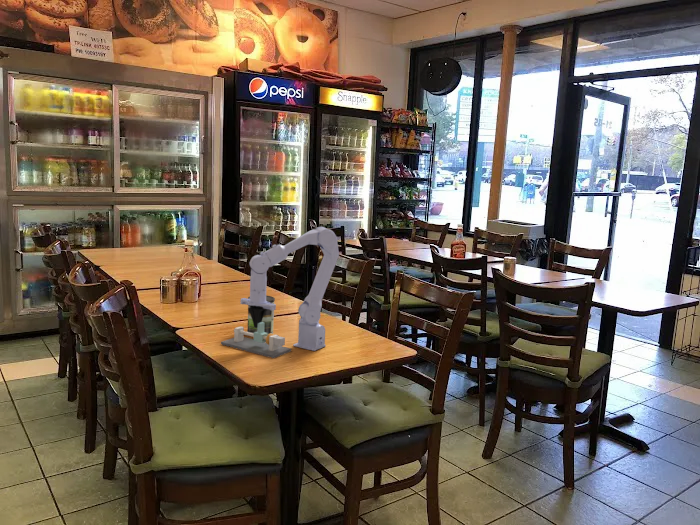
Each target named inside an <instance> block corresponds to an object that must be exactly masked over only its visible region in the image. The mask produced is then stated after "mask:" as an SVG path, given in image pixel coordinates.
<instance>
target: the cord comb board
mask: <svg viewBox="0 0 700 525" xmlns="http://www.w3.org/2000/svg"><path fill="white" fill-rule="evenodd" d="M244 329H245V328H244V326H241V325H240V326H237V327H234V329H233V333H234V334H233V335H234V336H233V337H232V338H230V339H225V340H222V341H220V345H221V344H222V346H225V345H226V347H229V346H230V348H232V347H233V348H232V349H236V348H237V349H236V350H240V349H241V351H244V350H245V351H244V352H248V353H252V354H255V355H260V356H263V357H266V358H270V357H271V359H276V358H278V357H280V355H281V356H282V355H286V354H288V353H290V352H292V348H290V347H286V346H285V343H286V337H285V336H284V337H283V336H279V335H278V334H274V333H273V334H271V333H269V334H268V335H267V336H264V338H263V339H264V340H266V342H264V343H260V342H256V341H253V339H254V333H250V332H247V331H245V330H244ZM244 335H245V336H248V337H245V336H244ZM251 337H253V338H251Z"/></svg>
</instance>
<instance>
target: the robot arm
mask: <svg viewBox="0 0 700 525" xmlns="http://www.w3.org/2000/svg"><path fill="white" fill-rule="evenodd" d="M338 239H339V238H338V237H337V234H335V232H334V231H333V230H332V229H329V228H326V227H325V226H318V227H316V228H313V229H311V230H309V231H307V232H305V233H304V234H302V235H300V236H299V237H297V238H295V239H293V240H291V241H290V242H287V243H286V244H285V245H281V244H272V248H269V249H268V250H266V251H261V252H259V254H255V255H254V256H252V257H251V259H250V261H249V262H248V263H249V267H250V276H249V277H250V278H249V279H250V280H249V281H250V282H249V297H250V299H248V297H247V298H246V297H242V298H240V300H239V301H240V302H239V303H240V305H247V306H248V305H250V307H249V308H248V307H247V312H248V311H249V312H250V314H251V317H252V320H253V324H254V327H256V328H257V327H258V323H260V322H262V319H263V316H264V314H265V312H266V311H267V309H270V310H271V311H273V310H274V311H276V310H277V308H276V307H277V304H276V303H274V304H272V303H270V302H267V301H266V295H267V281H268V276H267V271H268V270H269V268H272V267H273V266H276V265H277V264H280V263H281V262H282V261H285V260H286V259H287V258H288V255H289V254H291V253H293V252H295V251H297V250H299V249H301V248H303V247H306V246H308V245H313V246H319V248H320V250H321V251H322V253H323V257H322V260H321V262H320V265H319V266H318V270H317V272H316V275H315V277H314V280H313V283H312V285H311V288H310V290H309V293H308V295H306V297H305V298H304V299H303V302H302V303H301V304H300V305H299V307H298V312H297V313H298V315H299V316H300V318H299V321H298V337H297V342H296V343H293V345H292V346H293V347H297V348H301V349H303V350H304V349H305V350H309V351H313V352H315V351H317V350H319V349H322V348H324V347H326V346H327V345H326V328H325V326H324V325H322V324H320V323H319V322H320V319H321V310H322V307H323V306H322V305H323V304H322V302H323V298H324V295H325V293H326V289H327V288H328V284H329V282H330V280H331V278H332V274H333V272H334V270H335V267H336V264H337V262H338V259H339V257H340V252H339V246H338V245H339V244H338V241H339V240H338Z"/></svg>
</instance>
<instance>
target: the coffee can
mask: <svg viewBox="0 0 700 525" xmlns="http://www.w3.org/2000/svg"><path fill="white" fill-rule="evenodd" d="M247 299H250V296H248V297H247ZM275 300H276V298H275V297H274V296H271V295H267V294H266V301H267V302H270V303H272V304H275ZM249 307H250V305H247V309H248V308H249ZM274 318H275V310H273V311H271V310H270V309H267V311H266V312H265V314H264V316H263V319H262V322H264V323H265V326H264V332H266V333H268V334H269V333H271V334H274V321H275V320H274ZM246 332H250V333H254V332H257V328H256V327H254V324H253V320H252V317H251V314H250V312H249V311H248V310H247V331H246Z"/></svg>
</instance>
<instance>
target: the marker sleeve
mask: <svg viewBox="0 0 700 525" xmlns="http://www.w3.org/2000/svg"><path fill="white" fill-rule="evenodd" d="M264 326H265V323H264V322H260V323H258V327H257V332H254V337H253V338H252V339H253V341H256V342H260V343H264V342H266V340H264V339H263V338H264V336H267V335H268V333H266V332H264Z"/></svg>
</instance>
